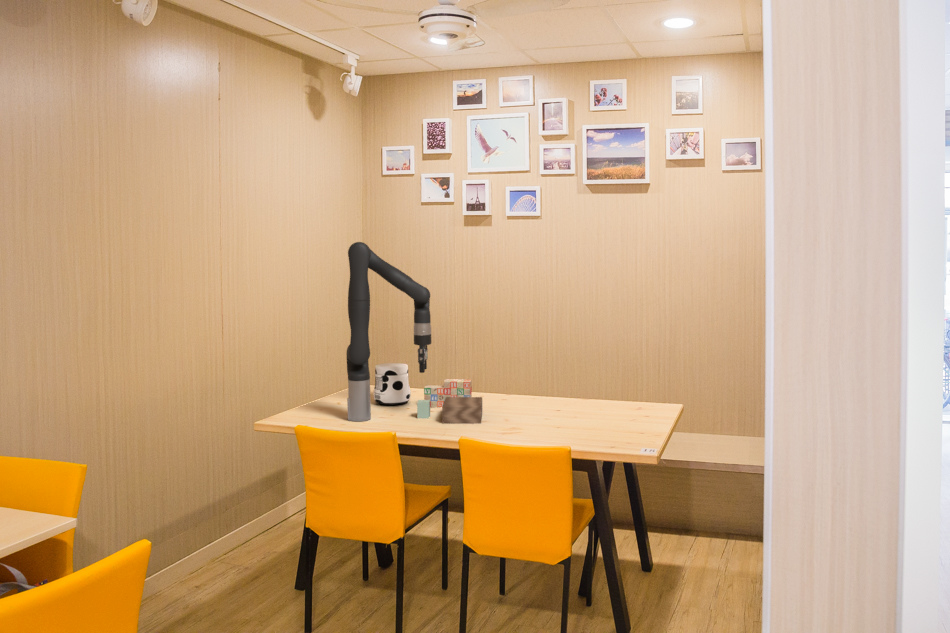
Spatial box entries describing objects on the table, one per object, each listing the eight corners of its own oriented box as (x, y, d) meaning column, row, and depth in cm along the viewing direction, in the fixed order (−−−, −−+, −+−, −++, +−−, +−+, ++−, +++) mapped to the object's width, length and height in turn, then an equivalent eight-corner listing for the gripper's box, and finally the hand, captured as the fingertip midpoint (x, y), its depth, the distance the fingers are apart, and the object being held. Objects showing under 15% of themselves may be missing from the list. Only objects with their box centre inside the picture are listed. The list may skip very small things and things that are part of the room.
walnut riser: (442, 423, 313) (442, 406, 313) (446, 412, 333) (445, 397, 333) (481, 423, 313) (480, 406, 312) (482, 412, 333) (482, 397, 332)
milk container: (414, 399, 362) (413, 362, 361) (406, 407, 345) (405, 368, 344) (379, 399, 365) (378, 362, 363) (369, 406, 348) (368, 368, 346)
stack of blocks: (424, 407, 345) (423, 381, 344) (426, 404, 351) (425, 378, 350) (470, 408, 343) (470, 381, 342) (471, 405, 349) (471, 379, 348)
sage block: (417, 418, 323) (417, 402, 323) (418, 415, 328) (418, 400, 328) (429, 418, 323) (428, 402, 322) (430, 415, 328) (430, 399, 327)
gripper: (415, 331, 330) (416, 368, 331) (411, 335, 315) (412, 373, 317) (432, 331, 329) (433, 368, 331) (429, 335, 315) (430, 373, 317)
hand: (423, 370), depth 324 cm, fingers open, 8 cm apart
